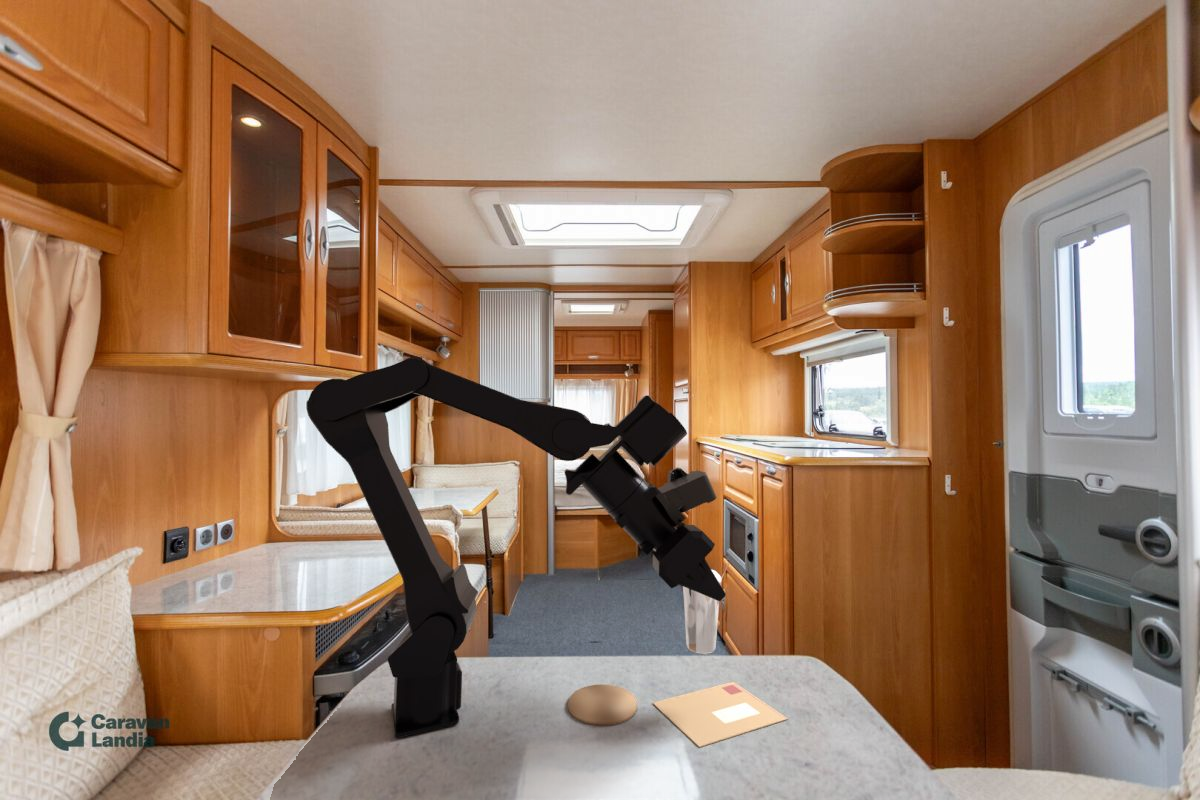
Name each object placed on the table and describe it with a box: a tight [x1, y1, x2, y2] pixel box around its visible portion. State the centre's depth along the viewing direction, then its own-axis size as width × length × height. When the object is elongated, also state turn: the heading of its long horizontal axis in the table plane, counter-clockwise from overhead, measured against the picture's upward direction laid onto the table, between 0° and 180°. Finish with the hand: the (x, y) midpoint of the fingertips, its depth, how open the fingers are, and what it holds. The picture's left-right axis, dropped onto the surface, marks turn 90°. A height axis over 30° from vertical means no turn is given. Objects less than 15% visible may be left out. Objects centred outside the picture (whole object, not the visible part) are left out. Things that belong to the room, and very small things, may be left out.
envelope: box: [652, 681, 788, 748], centre depth 57 cm, size 12×9×1 cm
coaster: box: [567, 683, 638, 727], centre depth 58 cm, size 8×8×1 cm
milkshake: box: [682, 561, 730, 655], centre depth 59 cm, size 4×5×10 cm
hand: (716, 591), depth 59 cm, fingers closed on milkshake, 4 cm apart
